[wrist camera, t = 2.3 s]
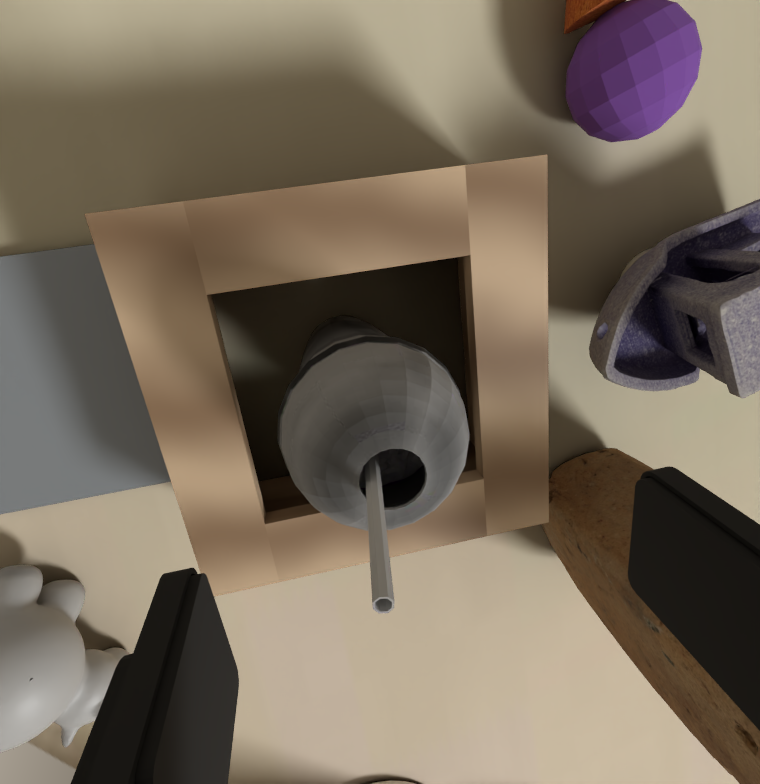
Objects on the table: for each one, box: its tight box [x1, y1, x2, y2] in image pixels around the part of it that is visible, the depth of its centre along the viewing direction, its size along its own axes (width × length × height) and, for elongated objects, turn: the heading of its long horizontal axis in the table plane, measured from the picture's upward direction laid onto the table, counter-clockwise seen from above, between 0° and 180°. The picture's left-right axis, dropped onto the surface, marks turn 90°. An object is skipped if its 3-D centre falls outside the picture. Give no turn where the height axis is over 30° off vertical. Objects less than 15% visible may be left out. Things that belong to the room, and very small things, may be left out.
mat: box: [0, 244, 171, 514], centre depth 26 cm, size 14×14×1 cm
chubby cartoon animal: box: [0, 565, 129, 753], centre depth 29 cm, size 7×12×8 cm, turn 30°
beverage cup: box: [278, 316, 469, 613], centre depth 20 cm, size 7×7×20 cm
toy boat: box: [589, 199, 760, 398], centre depth 25 cm, size 15×8×13 cm, turn 118°
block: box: [542, 448, 760, 784], centre depth 27 cm, size 11×8×20 cm
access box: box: [85, 155, 549, 596], centre depth 25 cm, size 18×18×8 cm
